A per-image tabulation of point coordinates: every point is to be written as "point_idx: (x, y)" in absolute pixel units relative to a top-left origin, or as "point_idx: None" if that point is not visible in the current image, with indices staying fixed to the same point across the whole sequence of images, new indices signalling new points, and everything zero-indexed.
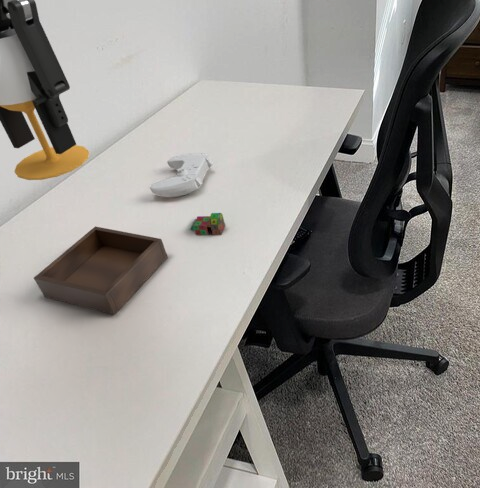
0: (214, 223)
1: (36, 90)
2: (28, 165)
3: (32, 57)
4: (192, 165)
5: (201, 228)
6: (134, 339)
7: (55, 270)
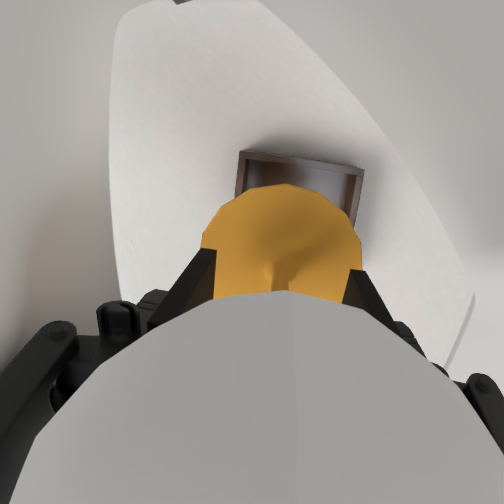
0: None
1: (109, 351)
2: (327, 243)
3: None
4: None
5: None
6: (199, 121)
7: (351, 194)
